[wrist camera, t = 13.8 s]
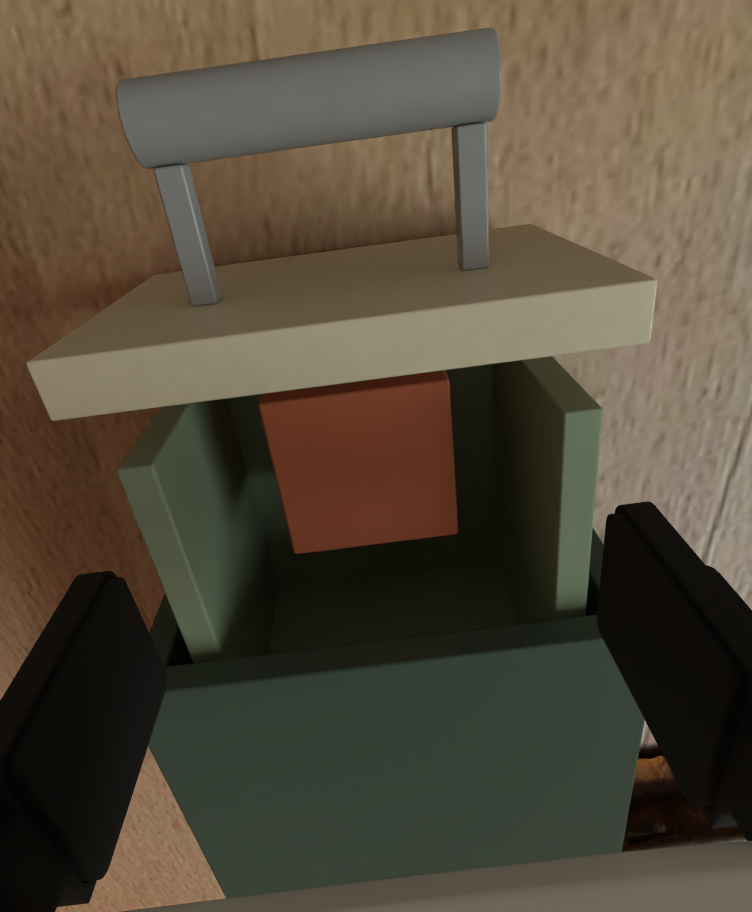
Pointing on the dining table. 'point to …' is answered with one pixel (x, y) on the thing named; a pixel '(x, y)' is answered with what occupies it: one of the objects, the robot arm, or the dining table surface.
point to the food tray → (667, 813)
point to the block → (364, 461)
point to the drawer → (350, 364)
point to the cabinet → (400, 752)
